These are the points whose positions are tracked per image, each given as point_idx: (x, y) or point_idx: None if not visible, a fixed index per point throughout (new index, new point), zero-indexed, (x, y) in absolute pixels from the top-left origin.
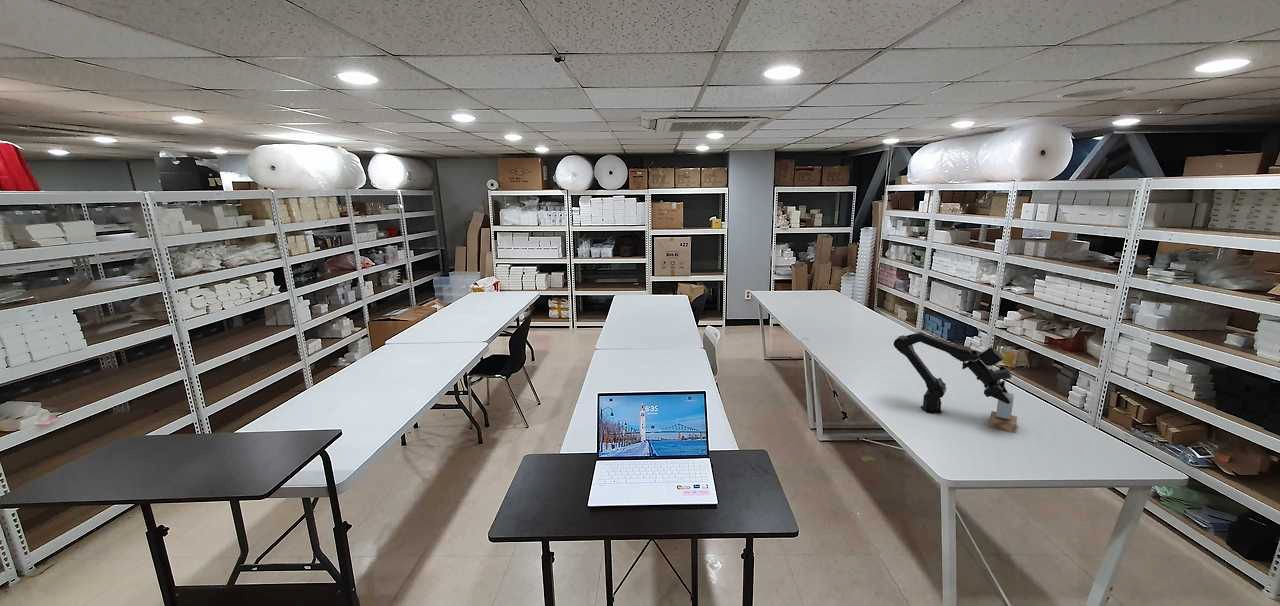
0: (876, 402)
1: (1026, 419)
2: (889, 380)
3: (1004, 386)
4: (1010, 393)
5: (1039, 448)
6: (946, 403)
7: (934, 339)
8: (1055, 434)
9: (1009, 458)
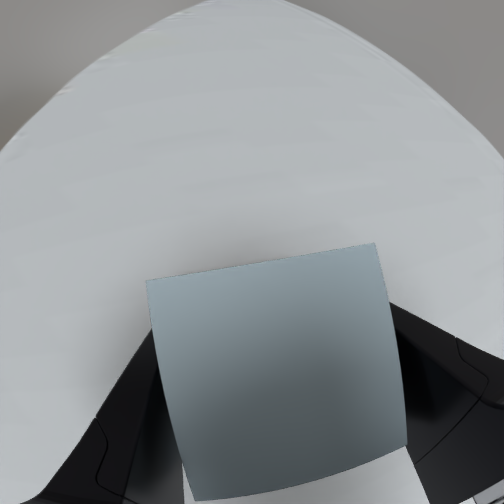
0: None
1: (59, 266)
2: None
3: (65, 493)
4: (158, 343)
5: (370, 162)
6: None
7: None
8: (163, 137)
9: (498, 230)
